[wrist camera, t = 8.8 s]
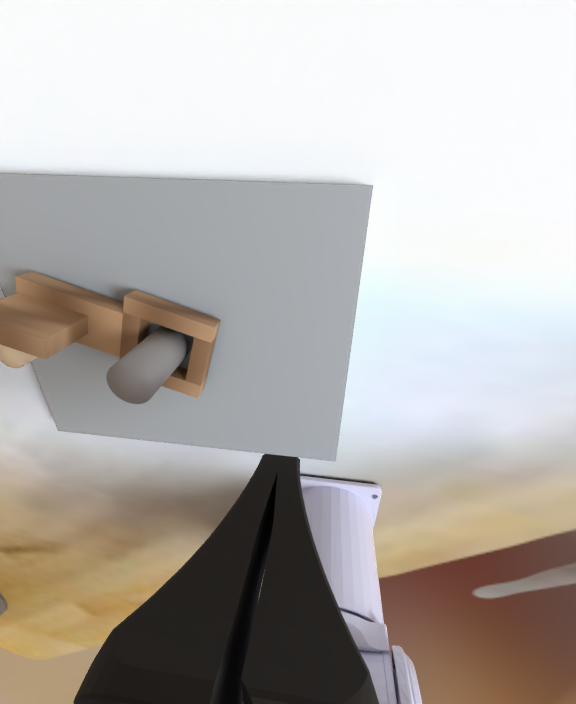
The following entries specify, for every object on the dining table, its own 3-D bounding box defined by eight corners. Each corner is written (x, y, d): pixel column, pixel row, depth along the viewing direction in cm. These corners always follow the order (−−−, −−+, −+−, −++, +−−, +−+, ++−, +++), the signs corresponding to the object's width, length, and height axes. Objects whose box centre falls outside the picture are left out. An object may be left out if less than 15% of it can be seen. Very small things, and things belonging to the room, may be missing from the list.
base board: (335, 449, 25) (336, 528, 19) (68, 420, 27) (-2, 484, 21) (370, 185, 16) (391, 185, 11) (-24, 172, 18) (-183, 166, 12)
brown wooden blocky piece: (221, 319, 19) (192, 354, 15) (204, 387, 21) (176, 432, 17) (31, 253, 18) (-49, 271, 14) (36, 330, 21) (-31, 364, 17)
